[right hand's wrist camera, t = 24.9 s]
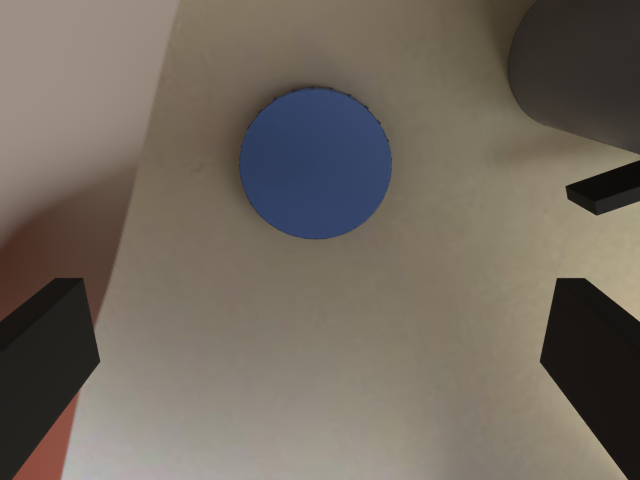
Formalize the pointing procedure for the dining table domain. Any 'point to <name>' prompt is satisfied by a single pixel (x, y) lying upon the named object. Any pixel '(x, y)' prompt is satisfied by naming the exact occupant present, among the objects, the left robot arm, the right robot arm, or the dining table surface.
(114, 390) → the dining table surface
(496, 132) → the dining table surface
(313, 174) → the lid
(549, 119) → the jar
